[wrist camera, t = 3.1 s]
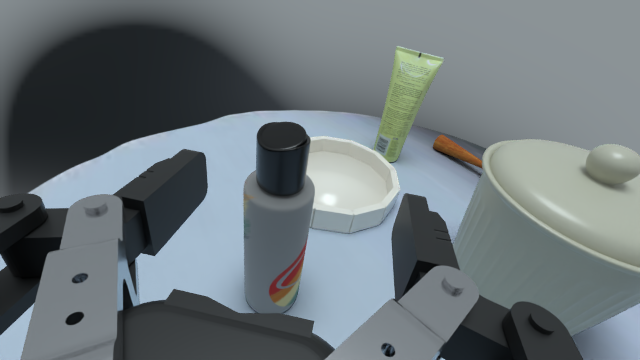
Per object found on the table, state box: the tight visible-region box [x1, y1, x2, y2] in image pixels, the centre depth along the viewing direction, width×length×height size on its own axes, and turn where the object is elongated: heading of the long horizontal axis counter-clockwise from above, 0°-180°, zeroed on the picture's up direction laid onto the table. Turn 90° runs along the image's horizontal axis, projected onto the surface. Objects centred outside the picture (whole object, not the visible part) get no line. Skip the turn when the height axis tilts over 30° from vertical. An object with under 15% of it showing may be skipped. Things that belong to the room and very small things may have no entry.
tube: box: [373, 46, 444, 162], centre depth 54 cm, size 6×5×20 cm
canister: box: [453, 139, 640, 336], centre depth 31 cm, size 18×18×21 cm
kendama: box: [433, 135, 483, 169], centre depth 58 cm, size 6×6×20 cm
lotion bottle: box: [244, 122, 315, 314], centre depth 27 cm, size 6×6×20 cm
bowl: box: [306, 136, 400, 233], centre depth 49 cm, size 19×19×4 cm
